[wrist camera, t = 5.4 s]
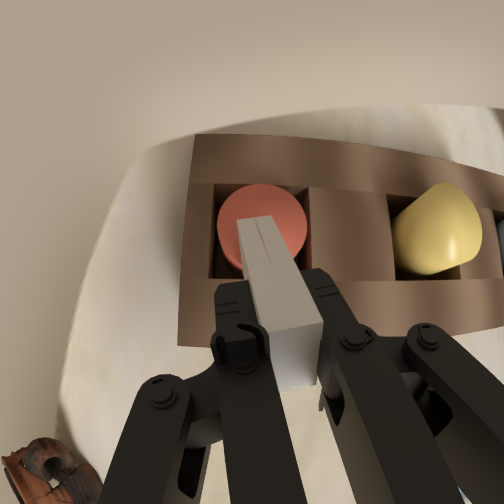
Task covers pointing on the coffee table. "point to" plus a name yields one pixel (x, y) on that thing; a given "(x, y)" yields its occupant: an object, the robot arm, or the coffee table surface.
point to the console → (342, 230)
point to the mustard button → (436, 232)
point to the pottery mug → (50, 475)
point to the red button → (256, 205)
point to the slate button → (501, 240)
